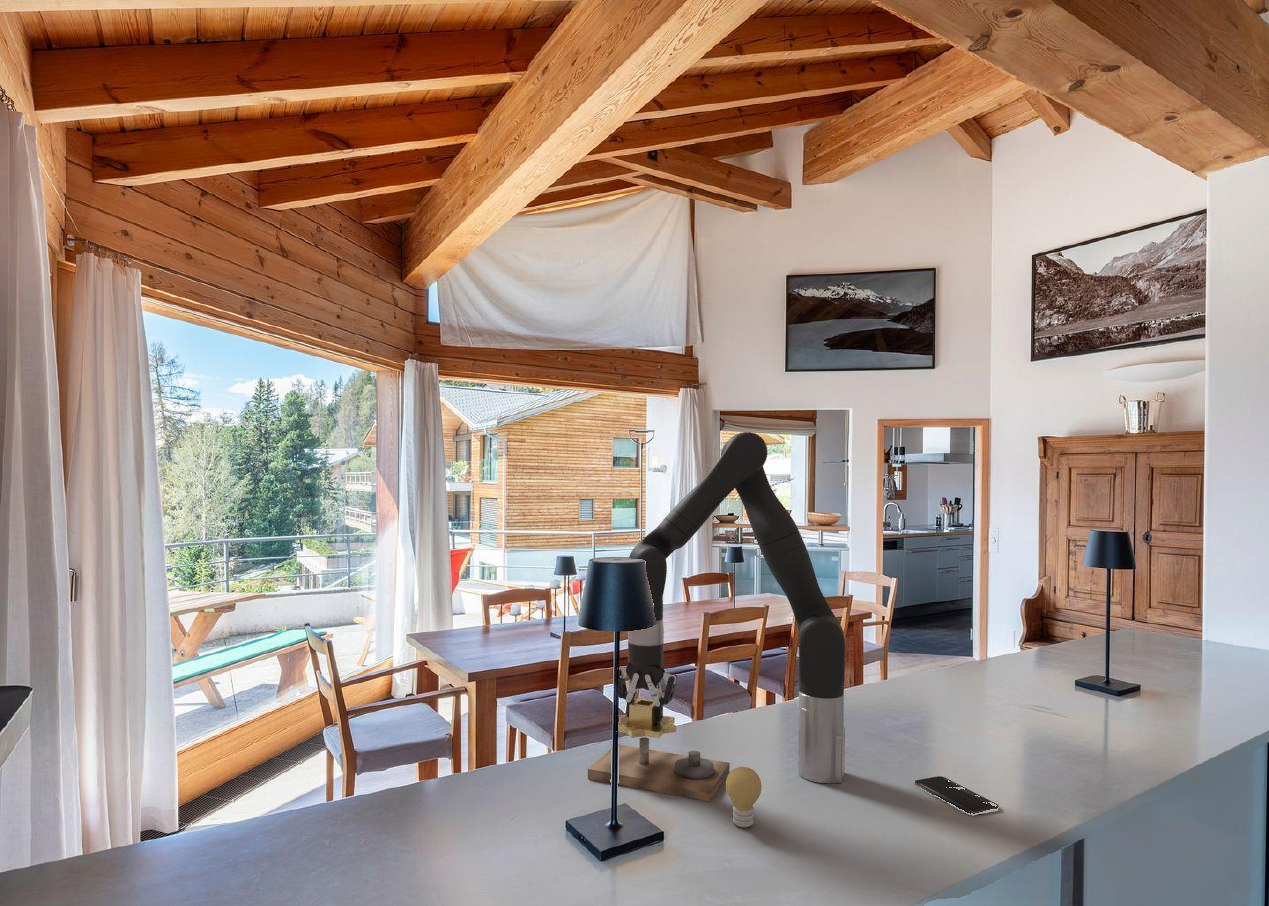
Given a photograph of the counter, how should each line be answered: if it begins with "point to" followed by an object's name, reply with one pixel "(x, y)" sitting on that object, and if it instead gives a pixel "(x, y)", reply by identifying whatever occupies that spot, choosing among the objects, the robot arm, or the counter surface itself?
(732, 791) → the light bulb
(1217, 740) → the counter surface
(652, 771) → the wooden peg board
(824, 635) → the robot arm
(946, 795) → the phone
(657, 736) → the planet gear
